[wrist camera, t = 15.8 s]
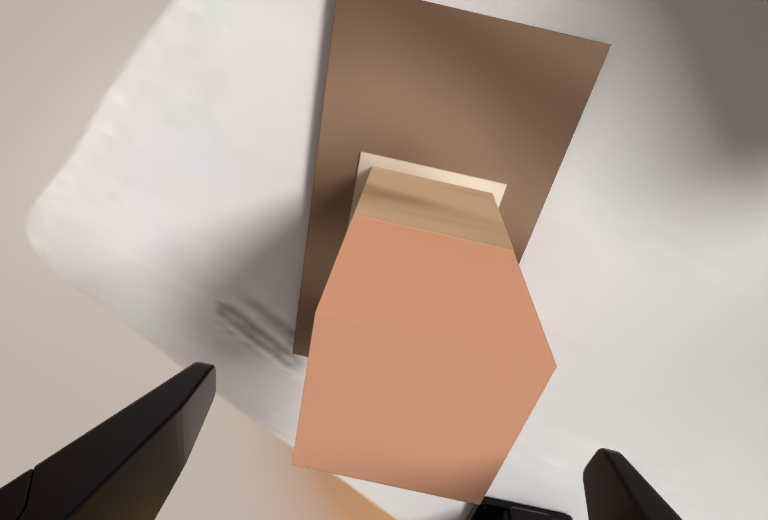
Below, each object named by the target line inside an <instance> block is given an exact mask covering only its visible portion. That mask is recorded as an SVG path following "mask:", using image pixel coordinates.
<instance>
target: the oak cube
mask: <svg viewBox="0 0 768 520" xmlns="http://www.w3.org/2000/svg"><path fill="white" fill-rule="evenodd" d="M354 215H357V216H361V217H366V218H370V219H374V220H379V221H383V222H388V223H392V224H396V225H401V226H405V227H410V228H414V229H418V230H423V231H427V232H432V233H436V234H440V235H445V236H449V237H454V238H458V239H462V240H467V241H471V242H476V243H480V244H484V245H489V246H493V247H498V248H502V249H506V250H511V251H514V249H513V246H512V243H511V241H510V238H509V235H508V233H507V230H506V227H505V225H504V222H503V220H502V217H501V214H500V212H499V209H498V206H497V204H496V201H495V198H494V196H493V193H489V192H485V191H481V190H476V189H472V188H468V187H463V186H459V185H454V184H450V183H446V182H441V181H437V180H433V179H428V178H424V177H419V176H415V175H411V174H406V173H402V172H397V171H393V170H389V169H384V168H380V167H376V166H372V169H371V172H370V174H369V177H368V179H367V182H366V184H365V187H364V190H363V192H362V195H361V197H360V200H359V202H358V205H357V207H356V210H355V213H354Z"/></svg>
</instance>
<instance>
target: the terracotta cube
mask: <svg viewBox="0 0 768 520" xmlns="http://www.w3.org/2000/svg"><path fill="white" fill-rule="evenodd" d="M556 367H557V366H556V363H555V360H554V358H553V355H552V352H551V350H550V347H549V344H548V342H547V339H546V336H545V334H544V331H543V328H542V326H541V323H540V320H539V318H538V315H537V312H536V310H535V307H534V304H533V302H532V299H531V296H530V294H529V291H528V288H527V286H526V283H525V280H524V278H523V275H522V272H521V270H520V267H519V264H518V262H517V259H516V256H515V254H514V251H511V250H506V249H502V248H498V247H493V246H489V245H484V244H480V243H476V242H471V241H467V240H462V239H458V238H454V237H449V236H445V235H440V234H436V233H432V232H427V231H423V230H418V229H414V228H410V227H405V226H401V225H396V224H392V223H388V222H383V221H379V220H374V219H370V218H366V217H361V216H357V215H353V217H352V220H351V223H350V225H349V228H348V230H347V233H346V235H345V238H344V240H343V243H342V246H341V248H340V251H339V253H338V256H337V258H336V261H335V264H334V266H333V269H332V271H331V274H330V276H329V279H328V281H327V284H326V287H325V289H324V292H323V294H322V297H321V299H320V302H319V305H318V307H317V310H316V312H315V318H314V324H313V331H312V337H311V344H310V350H309V356H308V363H307V369H306V376H305V382H304V389H303V395H302V402H301V408H300V415H299V421H298V428H297V434H296V441H295V447H294V454H293V460H292V465H296V466H300V467H305V468H309V469H315V470H319V471H324V472H328V473H333V474H338V475H342V476H347V477H352V478H356V479H361V480H366V481H370V482H375V483H380V484H384V485H389V486H394V487H398V488H403V489H408V490H412V491H417V492H422V493H426V494H431V495H436V496H440V497H445V498H450V499H454V500H459V501H464V502H468V503H473V504H478V505H480V503H481V502H482V500H483V498H484V496H485V494H486V493H487V491H488V489H489V487H490V485H491V484H492V482H493V480H494V478H495V476H496V475H497V473H498V471H499V469H500V467H501V466H502V464H503V462H504V460H505V458H506V457H507V455H508V453H509V451H510V450H511V448H512V446H513V444H514V442H515V441H516V439H517V437H518V435H519V433H520V432H521V430H522V428H523V426H524V424H525V423H526V421H527V419H528V417H529V415H530V414H531V412H532V410H533V408H534V406H535V405H536V403H537V401H538V399H539V397H540V396H541V394H542V392H543V390H544V388H545V387H546V385H547V383H548V381H549V380H550V378H551V376H552V374H553V372H554V371H555V369H556Z"/></svg>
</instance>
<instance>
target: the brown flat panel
mask: <svg viewBox="0 0 768 520" xmlns="http://www.w3.org/2000/svg"><path fill="white" fill-rule="evenodd" d="M610 46H611V45H610V44H606V43H602V42H597V41H593V40H589V39H585V38H580V37H576V36H572V35H568V34H563V33H559V32H555V31H550V30H546V29H542V28H538V27H533V26H529V25H525V24H521V23H516V22H512V21H508V20H503V19H499V18H495V17H491V16H486V15H482V14H478V13H473V12H469V11H465V10H461V9H456V8H452V7H448V6H444V5H439V4H435V3H431V2H426V1H422V0H336V6H335V14H334V22H333V30H332V39H331V47H330V55H329V63H328V71H327V79H326V87H325V95H324V103H323V111H322V120H321V128H320V136H319V144H318V152H317V160H316V168H315V176H314V184H313V193H312V201H311V209H310V217H309V225H308V233H307V241H306V249H305V257H304V266H303V274H302V282H301V290H300V298H299V306H298V314H297V322H296V330H295V339H294V347H293V354H297V355H302V356H306V357H308V356H309V350H310V344H311V337H312V331H313V324H314V318H315V312H316V310H317V307H318V305H319V302H320V299H321V297H322V294H323V292H324V289H325V287H326V284H327V281H328V279H329V276H330V274H331V271H332V269H333V266H334V264H335V261H336V258H337V256H338V253H339V251H340V248H341V246H342V243H343V240H344V238H345V235H346V233H347V230H348V228H349V225H350V223H351V220H352V217H353V215H354V213H355V210H356V207H357V205H358V202H359V200H360V197H361V195H362V192H363V190H364V187H365V184H366V182H367V179H368V177H369V174H370V172H371V169H372V166H376V167H380V168H384V169H389V170H393V171H397V172H402V173H406V174H411V175H415V176H419V177H424V178H428V179H433V180H437V181H441V182H446V183H450V184H454V185H459V186H463V187H468V188H472V189H476V190H481V191H485V192H489V193H493V196H494V198H495V201H496V204H497V206H498V209H499V212H500V214H501V217H502V220H503V222H504V225H505V227H506V230H507V233H508V235H509V238H510V241H511V243H512V246H513V249H514V254H515V256H516V259H517V262H518V264H519V263H520V260H521V258H522V255H523V253H524V251H525V248H526V246H527V243H528V241H529V239H530V236H531V234H532V232H533V229H534V227H535V224H536V222H537V220H538V217H539V215H540V213H541V210H542V208H543V205H544V203H545V201H546V198H547V196H548V194H549V191H550V189H551V186H552V184H553V182H554V179H555V177H556V175H557V172H558V170H559V167H560V165H561V163H562V160H563V158H564V156H565V153H566V151H567V148H568V146H569V144H570V141H571V139H572V137H573V134H574V132H575V129H576V127H577V125H578V122H579V120H580V118H581V115H582V113H583V110H584V108H585V106H586V103H587V101H588V99H589V96H590V94H591V91H592V89H593V87H594V84H595V82H596V79H597V77H598V75H599V72H600V70H601V68H602V65H603V63H604V60H605V58H606V56H607V53H608V51H609V49H610Z"/></svg>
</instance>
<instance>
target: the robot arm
mask: <svg viewBox="0 0 768 520" xmlns="http://www.w3.org/2000/svg"><path fill="white" fill-rule="evenodd" d="M215 391H216V369H215V366H214V365H212V364H207V363H202V362H196V363H194V364H192V365H190V366H189V367H187V368H186V369H184V370H183V371H181V372H180V373H178V374H177V375H175V376H173V377H172V378H170V379H169V380H167V381H166V382H164V383H163V384H161V385H160V386H158V387H156V388H155V389H153V390H152V391H150V392H149V393H147V394H146V395H144V396H143V397H141V398H139V399H138V400H136V401H135V402H133V403H132V404H130V405H129V406H127V407H126V408H124V409H122V410H121V411H119V412H118V413H116V414H115V415H113V416H112V417H110V418H109V419H107V420H106V421H104V422H102V423H101V424H99V425H98V426H96V427H95V428H93V429H92V430H90V431H89V432H87V433H86V434H84V435H83V436H81V437H79V438H78V439H76V440H75V441H73V442H72V443H70V444H68V445H67V446H65V447H64V448H62V449H61V450H60V451H58V452H56V453H55V454H53V455H52V456H50V457H48V458H47V459H45V460H44V461H42V462H41V463H39V464H38V465H36V466H35V468H34V470H33V469H30V470H28V471H27V472H25V473H23V474H22V475H20V476H19V477H17V478H16V479H14V480H13V481H11V482H10V483H8V484H6V485H5V486H3V487H2V488H0V520H155V518H156V516H157V514H158V512H159V511H160V509H161V507H162V505H163V504H164V502H165V500H166V498H167V497H168V495H169V493H170V491H171V489H172V487H173V486H174V484H175V482H176V481H177V479H178V477H179V475H180V473H181V471H182V470H183V467H184V466H185V464H186V462H187V459H188V457H189V455H190V453H191V450H192V448H193V446H194V443H195V441H196V439H197V437H198V434H199V432H200V430H201V427H202V425H203V423H204V420H205V418H206V416H207V413H208V411H209V409H210V406H211V404H212V402H213V399H214V396H215ZM583 483H584V490H585V497H586V504H587V511H588V518H589V520H682V519H681V518H680V517H679V515H678V514H677V513H676V512H675V511H674V510H673V509H672V508H671V507H670V506H669V505H668V504H667V503H666V501H665V500H664V499H663V498H662V497H661V496H660V495H659V494H658V493H657V492H656V491H655V490H654V488H653V487H652V486H651V485H650V484H649V483H648V482H647V481H646V480H645V479H644V478H643V477H642V476H641V474H640V473H639V472H638V471H637V470H636V469H635V468H634V467H633V466H632V465H631V464H630V463H629V462H628V460H627V459H626V458H625V457H624V456H623V455H622V454H621V453H619V452H617V451H614V450H610V449H605V448H601V449H599V450H597V452H596V453H595V454H594V456H593V457H592V459H591V460H590V461H589V463H588V464H587V466H586V467H585V469H584V472H583ZM467 520H573V519H572V517H571V516H569V515H565V514H561V513H556V512H551V511H546V510H542V509H537V508H532V507H528V506H523V505H518V504H513V503H509V502H504V501H499V500H495V499H490V498H483V500H482V502H481V503H480V505H478V504H475V505H474V507H473V509H472V511H471V513H470V515H469V516H468V518H467Z"/></svg>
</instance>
